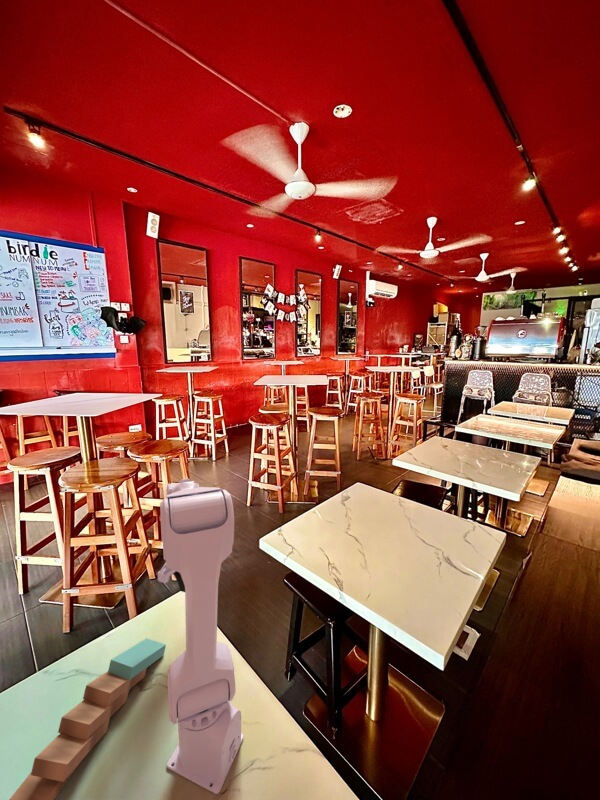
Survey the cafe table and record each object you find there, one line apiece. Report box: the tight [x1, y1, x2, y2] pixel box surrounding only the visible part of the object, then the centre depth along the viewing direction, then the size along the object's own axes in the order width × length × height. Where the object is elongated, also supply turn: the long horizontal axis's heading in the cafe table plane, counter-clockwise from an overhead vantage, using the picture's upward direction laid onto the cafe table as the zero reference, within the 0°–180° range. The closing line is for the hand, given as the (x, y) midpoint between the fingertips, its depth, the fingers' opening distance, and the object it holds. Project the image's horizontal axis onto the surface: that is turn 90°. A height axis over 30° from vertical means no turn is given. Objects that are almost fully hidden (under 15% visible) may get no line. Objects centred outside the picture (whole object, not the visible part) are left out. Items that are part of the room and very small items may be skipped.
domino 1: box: [107, 637, 167, 680], centre depth 66 cm, size 5×2×10 cm
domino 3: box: [57, 689, 130, 740], centre depth 57 cm, size 5×2×10 cm
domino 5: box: [8, 762, 81, 800], centre depth 48 cm, size 5×2×10 cm
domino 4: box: [30, 717, 111, 782], centre depth 52 cm, size 5×2×10 cm
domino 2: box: [82, 667, 148, 707], centre depth 62 cm, size 5×2×10 cm
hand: (186, 590), depth 75 cm, fingers closed
